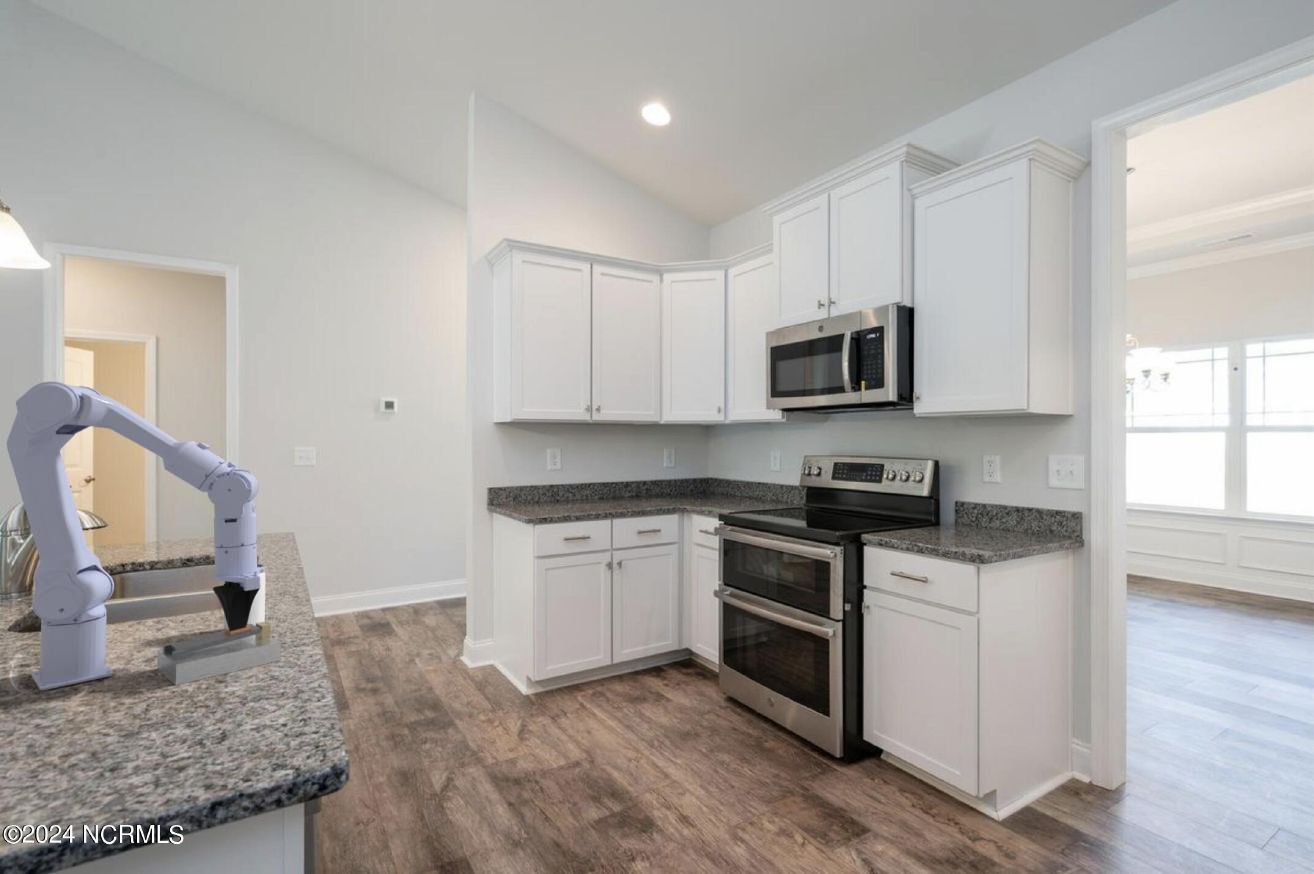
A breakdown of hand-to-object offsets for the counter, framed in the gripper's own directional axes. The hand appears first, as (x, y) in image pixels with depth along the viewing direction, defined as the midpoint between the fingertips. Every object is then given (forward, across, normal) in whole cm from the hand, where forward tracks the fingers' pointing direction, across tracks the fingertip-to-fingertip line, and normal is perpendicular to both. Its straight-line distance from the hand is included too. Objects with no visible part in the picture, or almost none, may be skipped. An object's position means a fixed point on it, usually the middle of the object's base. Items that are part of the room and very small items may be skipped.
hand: (237, 628), depth 102 cm
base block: (+5, 0, +2) cm, 6 cm away
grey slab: (+1, 0, +3) cm, 3 cm away
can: (+6, +18, -7) cm, 20 cm away
